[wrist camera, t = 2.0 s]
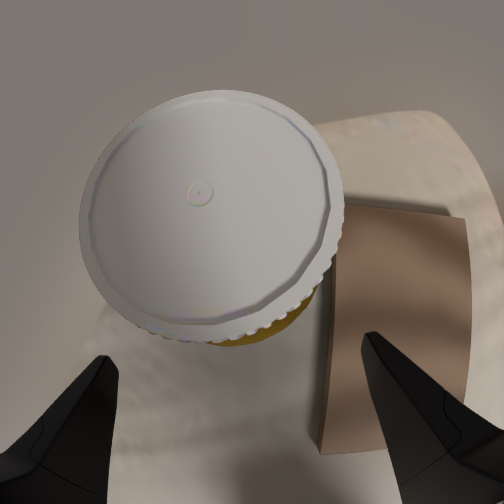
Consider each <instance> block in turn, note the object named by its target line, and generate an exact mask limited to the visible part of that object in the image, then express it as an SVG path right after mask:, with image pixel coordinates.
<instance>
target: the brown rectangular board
mask: <svg viewBox="0 0 504 504" xmlns="http://www.w3.org/2000/svg"><path fill="white" fill-rule="evenodd" d="M341 231H342V236H341V238H340V239H339V240H338V243H337V246H338V249H337V252H336V253H335V254H334V255H333V257H332V271H331V305H330V325H329V341H328V355H327V367H326V378H325V388H324V397H323V406H322V414H321V422H320V429H319V436H318V443H317V448H318V451H319V453H320V455H326V454H342V453H354V452H364V451H372V450H380V449H386V448H387V445H386V442H385V438H384V435H383V432H382V429H381V426H380V422H379V419H378V416H377V413H376V410H375V407H374V404H373V401H372V398H371V395H370V392H369V388H368V383H367V378H366V374H365V369H364V365H363V361H362V356H361V345H362V341H363V336H364V334H365V333H366V332H371V331H377V332H378V333H380V334H381V335H382V336H383V337H384V338H386V339H387V340H388V341H389V342H390V343H391V344H393V345H394V346H395V347H396V348H397V349H399V350H400V351H401V352H402V353H403V354H405V355H406V356H407V357H408V358H409V359H411V360H412V361H413V362H414V363H415V364H416V365H418V366H419V367H420V368H421V369H422V370H423V371H425V372H426V373H427V374H428V375H429V376H431V377H432V378H433V379H434V380H435V381H436V382H438V383H439V384H440V385H441V386H442V387H443V388H445V390H447V391H448V392H449V393H450V394H452V395H453V396H454V397H455V398H456V399H458V400H459V401H460V402H461V403H464V397H465V391H466V385H467V377H468V369H469V359H470V346H471V327H472V290H471V270H470V258H469V248H468V239H467V231H466V224H465V219H463V218H456V217H450V216H443V215H436V214H429V213H421V212H413V211H405V210H397V209H388V208H379V207H369V206H359V205H348V204H345V207H344V222H343V224H342V228H341Z"/></svg>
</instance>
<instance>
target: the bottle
mask: <svg viewBox="0 0 504 504" xmlns="http://www.w3.org/2000/svg"><path fill="white" fill-rule="evenodd" d="M344 207H345V204H344V194H343V186H342V181H341V176H340V173H339V169H338V167H337V164H336V161H335V159H334V157H333V155H332V153H331V151H330V149H329V147H328V146H327V144H326V143H325V141H324V140H323V138H322V137H321V136H320V134H319V133H318V132H317V131H316V130H315V129H314V128H313V127H312V126H311V125H310V124H309V123H308V122H307V121H306V120H305V119H304V118H303V117H301V116H300V115H299V114H297V113H296V112H295V111H293V110H291V109H290V108H288V107H286V106H285V105H283V104H281V103H279V102H276V101H274V100H272V99H269V98H266V97H264V96H260V95H256V94H253V93H248V92H242V91H232V90H211V91H202V92H196V93H191V94H187V95H183V96H180V97H177V98H174V99H171V100H169V101H166V102H164V103H162V104H160V105H158V106H155V107H153V108H152V109H150V110H148V111H146V112H145V113H143V114H142V115H140V116H139V117H137V118H136V119H135V120H133V121H132V122H131V123H130V124H128V125H127V126H126V127H125V128H124V129H123V130H122V131H121V132H120V133H119V134H118V135H117V136H116V137H115V138H114V139H113V140H112V141H111V142H110V144H109V145H108V146H107V147H106V149H105V150H104V151H103V153H102V154H101V156H100V157H99V159H98V161H97V163H96V164H95V166H94V168H93V170H92V172H91V174H90V176H89V179H88V181H87V184H86V187H85V190H84V193H83V197H82V201H81V206H80V214H79V238H80V246H81V251H82V256H83V259H84V262H85V265H86V268H87V270H88V273H89V275H90V277H91V279H92V281H93V283H94V285H95V286H96V288H97V289H98V291H99V292H100V294H101V295H102V296H103V297H104V299H105V300H106V301H107V302H108V303H109V304H110V305H111V306H112V307H113V308H114V309H115V310H116V311H117V312H118V313H119V314H121V315H122V316H123V317H124V318H125V319H127V320H129V321H130V322H132V323H134V324H135V326H137V327H139V328H143V329H145V330H147V331H148V332H149V333H151V334H153V335H156V334H158V335H161V336H162V337H163V338H165V339H168V340H170V339H178V341H179V342H183V343H187V342H191V341H195V343H197V344H203V343H208V344H213V345H218V346H238V345H245V344H251V343H256V342H259V341H262V340H264V339H266V338H268V337H270V336H272V335H274V334H276V333H278V332H280V331H281V330H283V329H285V328H286V327H287V326H289V325H290V324H291V323H292V322H293V321H294V320H295V319H296V318H297V317H298V316H299V315H300V313H301V312H302V311H303V310H304V309H305V308H306V307H307V306H308V304H309V303H310V301H311V299H312V297H313V295H314V293H315V291H316V288H317V286H318V284H319V283H320V282H321V281H322V279H323V275H322V274H323V273H324V272H325V271H326V270H327V269H328V268H329V267H330V265H331V264H332V263H331V258H332V257H333V255H334V254H335V253H336V252H337V249H338V246H337V243H338V240H339V239H340V238H341V236H342V231H341V228H342V224H343V222H344Z"/></svg>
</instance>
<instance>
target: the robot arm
mask: <svg viewBox="0 0 504 504" xmlns="http://www.w3.org/2000/svg"><path fill="white" fill-rule="evenodd" d="M361 356H362V361H363V365H364V369H365V374H366V378H367V383H368V388H369V392H370V395H371V398H372V401H373V404H374V407H375V410H376V413H377V416H378V419H379V422H380V426H381V429H382V432H383V435H384V438H385V442H386V445H387V448H388V452H389V455H390V459H391V462H392V466H393V469H394V473H395V476H396V480H397V484H398V488H399V492H400V496H401V500H402V504H504V430H502V429H500V428H498V427H496V426H494V425H493V424H491V423H490V422H488V421H487V420H485V419H484V418H482V417H481V416H479V415H478V414H477V413H475V412H474V411H472V410H471V409H469V408H468V407H467V406H465V405H464V404H463V403H461V402H460V401H459V400H458V399H456V398H455V397H454V396H453V395H452V394H450V393H449V392H448V391H447V390H445V388H443V387H442V386H441V385H440V384H439V383H438V382H436V381H435V380H434V379H433V378H432V377H431V376H429V375H428V374H427V373H426V372H425V371H423V370H422V369H421V368H420V367H419V366H418V365H416V364H415V363H414V362H413V361H412V360H411V359H409V358H408V357H407V356H406V355H405V354H403V353H402V352H401V351H400V350H399V349H397V348H396V347H395V346H394V345H393V344H391V343H390V342H389V341H388V340H387V339H386V338H384V337H383V336H382V335H381V334H380V333H378V332H377V331H371V332H366V333H365V334H364V336H363V341H362V345H361ZM118 379H119V372H118V369H117V367H116V366H115V364H114V363H113V361H112V360H111V358H110V357H109V356H107V355H99V356H97V357H96V358H95V359H94V360H93V361H92V362H91V363H90V365H89V366H88V367H87V368H86V369H85V370H84V371H83V372H82V373H81V374H80V375H79V376H78V377H77V378H76V379H75V380H74V381H73V382H72V383H71V384H70V385H69V386H68V388H67V389H66V390H65V391H64V392H63V393H62V394H61V395H60V396H59V397H58V398H57V399H56V400H55V401H54V403H53V404H52V405H51V406H50V407H49V408H48V409H47V410H46V411H45V412H44V414H43V415H42V416H41V417H40V418H39V419H38V420H37V421H36V422H35V423H34V424H33V425H32V426H31V427H30V428H29V429H28V431H26V432H25V433H24V434H23V435H22V436H21V437H20V438H19V439H18V440H17V441H16V442H15V443H14V444H13V445H11V446H10V447H9V448H8V449H7V450H6V451H5V452H3V453H1V454H0V504H107V491H108V477H109V465H110V455H111V446H112V438H113V430H114V423H115V417H116V409H117V394H118Z"/></svg>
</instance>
